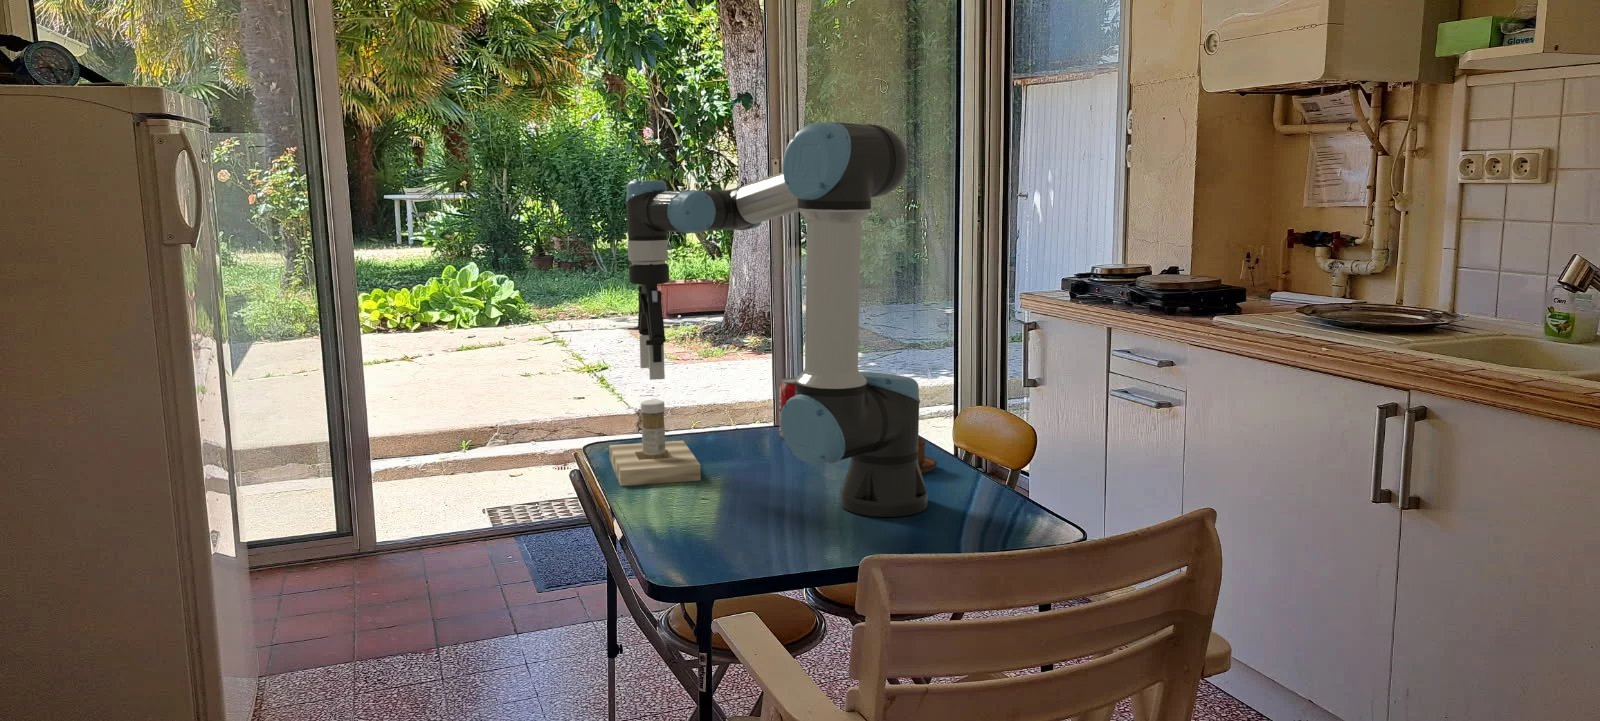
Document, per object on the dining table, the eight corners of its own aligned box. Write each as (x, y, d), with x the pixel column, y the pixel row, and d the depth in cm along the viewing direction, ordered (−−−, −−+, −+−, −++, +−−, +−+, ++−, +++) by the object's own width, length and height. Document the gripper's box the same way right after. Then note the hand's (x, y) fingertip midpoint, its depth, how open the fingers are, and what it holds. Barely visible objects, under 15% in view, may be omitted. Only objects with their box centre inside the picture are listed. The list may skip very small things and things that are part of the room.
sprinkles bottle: (656, 464, 219) (654, 398, 217) (670, 468, 216) (669, 401, 214) (637, 469, 216) (635, 401, 213) (652, 473, 213) (650, 404, 210)
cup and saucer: (933, 481, 209) (934, 449, 208) (870, 477, 211) (871, 446, 210) (939, 465, 220) (939, 434, 219) (879, 461, 223) (879, 432, 222)
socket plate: (700, 480, 209) (700, 464, 208) (620, 486, 205) (620, 470, 204) (683, 454, 228) (683, 440, 227) (609, 459, 224) (609, 445, 223)
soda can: (773, 436, 244) (773, 378, 241) (803, 433, 247) (803, 375, 244) (787, 443, 237) (787, 383, 235) (817, 440, 240) (817, 381, 238)
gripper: (678, 266, 199) (682, 383, 202) (659, 258, 222) (662, 362, 226) (636, 267, 197) (640, 385, 200) (621, 259, 220) (625, 364, 224)
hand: (652, 373), depth 213 cm, fingers open, 13 cm apart
